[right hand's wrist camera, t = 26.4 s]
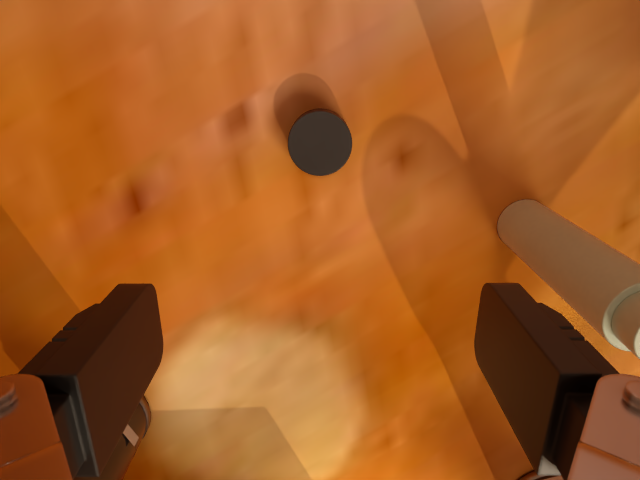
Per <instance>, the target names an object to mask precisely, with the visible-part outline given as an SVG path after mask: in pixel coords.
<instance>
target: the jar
mask: <svg viewBox="0 0 640 480" xmlns="http://www.w3.org/2000/svg"><path fill="white" fill-rule="evenodd" d="M497 231H498V235H499V237H500V239H501V240H502V241H503V242H504V243H505V244H506V245H507V246H508V247H509V248H510V249H511V250H512V251H513V252H514V253H515V254H516V255H517V256H519V257H520V258H521V259H522V260H523V261H524V262H525V263H526V264H527V265H528V266H529V267H530V268H531V269H532V270H533V271H534V272H535V273H536V274H537V275H539V276H540V277H541V278H542V279H543V280H544V281H545V282H546V283H547V284H548V285H549V286H550V287H551V288H552V289H553V290H554V291H555V292H556V293H557V294H559V295H560V296H561V297H562V298H563V299H564V300H565V301H566V302H567V303H568V304H569V305H570V306H571V307H572V308H573V309H574V310H575V311H576V312H577V313H578V314H580V315H581V316H582V317H583V318H584V319H585V320H586V321H587V322H588V323H589V324H590V325H591V326H592V327H593V328H594V329H595V330H596V331H597V332H598V333H600V334H601V335H602V336H603V337H604V338H605V339H606V340H607V341H608V342H609V343H610V344H611V345H613V346H614V347H616V348H618V349H621V350H625V351H631V352H632V353H633V354H634V355H636V356H637V357H638V358H639V359H640V264H638V263H637V262H635V261H633V260H632V259H630V258H629V257H627V256H625V255H624V254H622V253H620V252H619V251H617V250H615V249H614V248H612V247H611V246H609V245H607V244H606V243H604V242H602V241H601V240H599V239H598V238H596V237H594V236H593V235H591V234H589V233H588V232H586V231H585V230H583V229H581V228H580V227H578V226H576V225H575V224H573V223H572V222H570V221H568V220H567V219H565V218H563V217H562V216H560V215H559V214H557V213H555V212H554V211H552V210H550V209H549V208H547V207H546V206H544V205H542V204H541V203H539V202H537V201H535V200H529V199H525V200H519V201H516V202H514V203H512V204H511V205H509V206H508V207H507V208H506V209H505V210H504V211H503V212H502V213H501V215H500V217H499V220H498V224H497Z"/></svg>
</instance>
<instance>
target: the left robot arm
mask: <svg viewBox="0 0 640 480" xmlns="http://www.w3.org/2000/svg"><path fill="white" fill-rule="evenodd" d="M519 480H564V479H563V477H562V475H537V474H536V472H535V471H534V472H531V473H529V474H527V475H525V476H524V477H522V478H521V479H519Z"/></svg>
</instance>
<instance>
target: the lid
mask: <svg viewBox="0 0 640 480" xmlns="http://www.w3.org/2000/svg"><path fill="white" fill-rule="evenodd" d="M288 149H289V153H290V156H291V158H292V160H293V162H294V163H295V164H296V165H297V166H298V167H299V168H300V169H301V170H303V171H304V172H306V173H308V174H311V175H316V176H324V175H329V174H332V173H334V172H336V171H337V170H339V169H340V168H341V167H342V166H343V165H344V164H345V163H346V162H347V160H348V158H349V156H350V153H351V149H352V138H351V133H350V131H349V128H348V126H347V124H346V123H345V121H344V120H343V119H342V118H341V117H340V116H339V115H338V114H336V113H335V112H333V111H330V110H327V109H313V110H310V111H307V112H305V113H304V114H302V115H301V116H300V117H299V118H298V119H297V120H296V121H295V123H294V125H293V126H292V129H291V131H290V133H289V137H288Z"/></svg>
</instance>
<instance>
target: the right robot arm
mask: <svg viewBox="0 0 640 480" xmlns="http://www.w3.org/2000/svg"><path fill="white" fill-rule="evenodd" d="M474 347H475V355H476V360H477V363H478V365H479V367H480V369H481V371H482V373H483V374H484V376H485V378H486V380H487V382H488V384H489V386H490V388H491V389H492V391H493V393H494V395H495V397H496V399H497V401H498V403H499V404H500V406H501V408H502V410H503V412H504V414H505V416H506V418H507V420H508V421H509V423H510V425H511V427H512V429H513V431H514V433H515V435H516V436H517V438H518V440H519V442H520V444H521V446H522V448H523V450H524V451H525V453H526V455H527V457H528V459H529V461H530V463H531V465H532V466H533V468H534V470H535V472H536V474H537V475H562V477H563V479H564V480H640V377H638V376H633V375H627V374H619V373H618V372H617V370H616V369H615V368H614V367H613V366H612V365H611V364H610V363H609V362H608V361H607V360H606V359H605V358H604V357H603V356H602V355H601V354H600V353H599V352H598V351H597V350H596V349H595V348H594V347H593V346H592V345H591V344H590V343H589V342H588V341H585V340H584V337H583V336H582V335H581V334H580V333H579V332H578V331H577V330H574V327H573V326H572V325H571V324H570V323H569V321H568V320H567V319H566V318H565V317H564V316H563V315H562V314H560V313H559V312H557V311H555V310H553V309H551V308H550V307H548V306H546V305H544V304H543V303H537V302H536V301H535V300H534V299H533V298H532V297H531V296H530V295H529V294H528V293H527V292H526V290H525V289H524V288H523V287H522V286H521V285H520V284H518V283H486V284H484V286H483V288H482V291H481V297H480V304H479V311H478V318H477V325H476V333H475V341H474ZM162 354H163V336H162V329H161V322H160V315H159V308H158V301H157V294H156V290H155V288H154V286H153V285H152V284H118V285H117V286H116V287H115V288H114V289H113V290H112V291H111V292H110V294H109V295H108V296H107V297H106V298H105V299H104V300H103V301H102V302H101V303H100V304H94V305H92V306H91V307H89V308H87V309H85V310H83V311H82V312H80V313H78V314H76V315H75V316H74V317H73V318H72V319H71V320H70V321H69V322H68V323H67V324H66V325H65V326H64V327H63V330H60V331H59V332H58V333H57V334H56V335H55V336H54V337H53V338H52V342H48V343H47V345H46V346H45V347H44V348H43V349H42V350H41V351H40V352H39V353H38V354H37V355H36V356H35V357H34V358H33V359H32V360H31V361H30V362H29V363H28V364H27V365H26V366H25V367H24V368H23V369H22V370H21V371H20V372H19V373H18V374H13V375H7V376H2V377H0V480H122V479H123V477H124V475H125V473H126V471H127V469H128V467H129V465H130V463H131V460H132V459H133V457H134V455H135V453H136V450H137V448H138V446H139V444H140V442H141V440H142V439H143V437H144V436H145V434H146V432H147V430H148V428H149V425H150V421H151V412H150V408H149V405H148V403H147V401H146V399H145V398H144V397H143V395H144V393H145V391H146V389H147V387H148V386H149V384H150V382H151V380H152V378H153V376H154V374H155V373H156V371H157V369H158V367H159V365H160V362H161V359H162Z"/></svg>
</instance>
